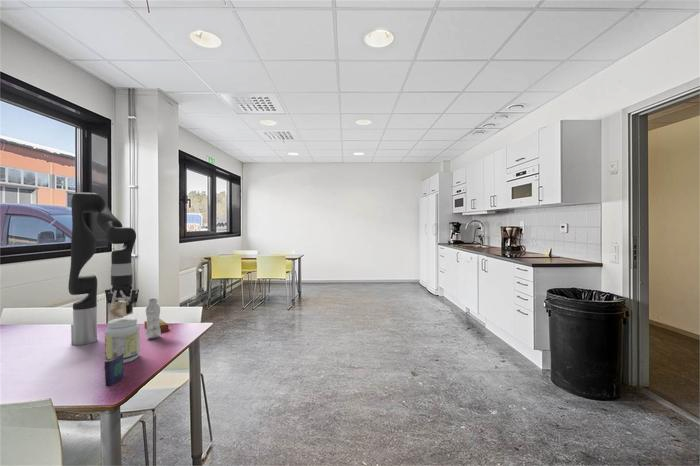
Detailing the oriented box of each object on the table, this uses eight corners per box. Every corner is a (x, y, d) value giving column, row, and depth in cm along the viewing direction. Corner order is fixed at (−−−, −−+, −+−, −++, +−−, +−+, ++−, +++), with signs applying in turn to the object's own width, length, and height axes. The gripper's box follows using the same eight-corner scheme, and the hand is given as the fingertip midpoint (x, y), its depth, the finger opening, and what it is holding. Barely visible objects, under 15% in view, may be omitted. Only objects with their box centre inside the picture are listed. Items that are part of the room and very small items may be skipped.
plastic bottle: (154, 340, 161) (153, 300, 161) (142, 339, 163) (142, 300, 162) (164, 336, 168) (163, 298, 167) (152, 335, 169) (152, 297, 169)
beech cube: (110, 316, 135) (110, 303, 135) (121, 313, 140) (121, 300, 140) (123, 316, 135) (122, 303, 134) (133, 313, 140) (132, 300, 140)
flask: (118, 375, 122) (117, 347, 122) (126, 375, 122) (126, 347, 122) (103, 387, 113) (102, 357, 113) (112, 386, 113) (111, 356, 113)
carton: (160, 325, 189) (160, 318, 189) (168, 331, 177) (168, 323, 177) (144, 328, 183) (144, 321, 183) (151, 334, 171) (151, 326, 171)
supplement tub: (110, 356, 141) (109, 318, 141) (142, 352, 146) (142, 315, 146) (100, 367, 130) (100, 325, 130) (136, 362, 134) (135, 322, 134)
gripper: (98, 275, 134) (99, 315, 134) (130, 275, 133) (131, 315, 133) (113, 272, 142) (113, 310, 142) (143, 272, 141) (144, 311, 141)
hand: (122, 313), depth 138 cm, fingers closed on beech cube, 5 cm apart
